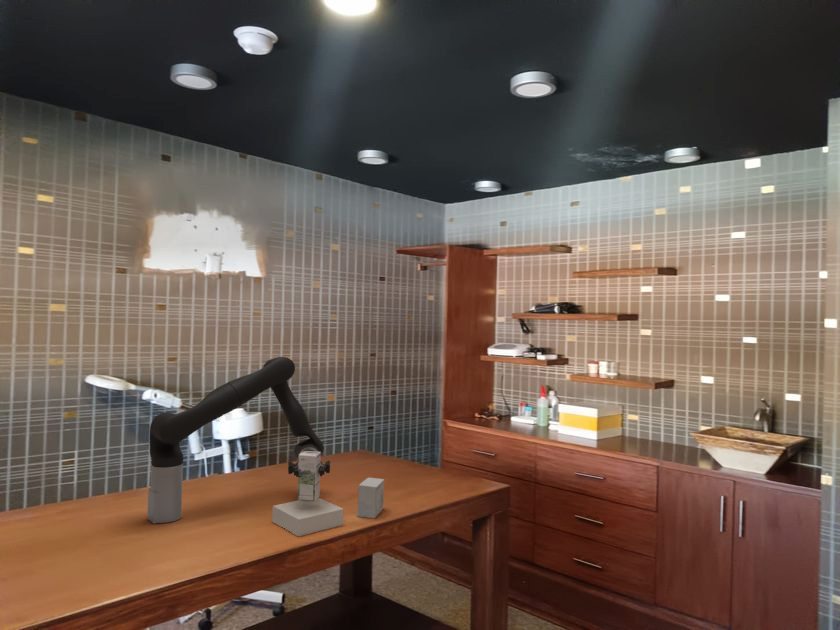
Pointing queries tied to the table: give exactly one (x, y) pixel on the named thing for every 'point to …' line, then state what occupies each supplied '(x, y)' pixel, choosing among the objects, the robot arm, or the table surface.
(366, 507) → the skincare box
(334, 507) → the plinth
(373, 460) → the table surface
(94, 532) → the table surface
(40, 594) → the table surface
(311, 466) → the syrup box
